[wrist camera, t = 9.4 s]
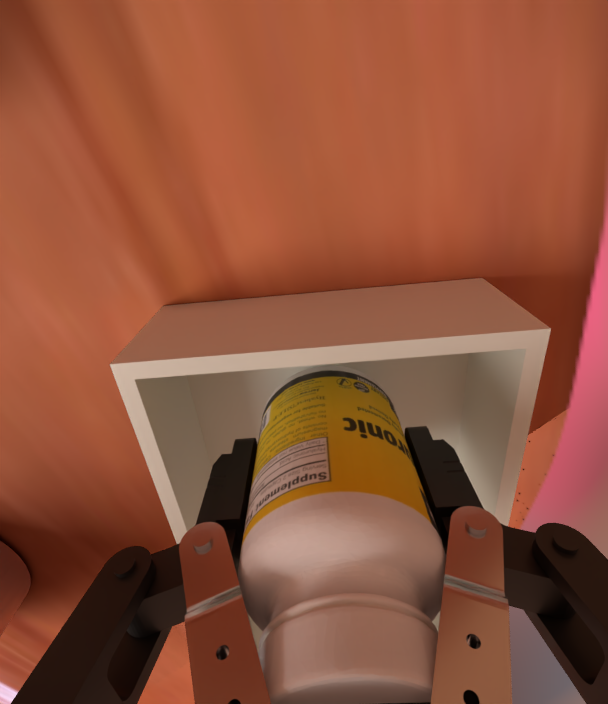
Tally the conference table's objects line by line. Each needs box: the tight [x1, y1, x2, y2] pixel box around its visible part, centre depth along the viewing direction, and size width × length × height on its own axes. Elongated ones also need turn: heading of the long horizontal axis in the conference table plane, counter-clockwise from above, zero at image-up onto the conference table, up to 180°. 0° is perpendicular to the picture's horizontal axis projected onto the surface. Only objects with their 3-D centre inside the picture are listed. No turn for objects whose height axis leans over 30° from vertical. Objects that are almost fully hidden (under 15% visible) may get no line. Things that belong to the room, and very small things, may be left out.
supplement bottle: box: [238, 365, 446, 704], centre depth 12 cm, size 5×5×10 cm
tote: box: [110, 278, 551, 653], centre depth 18 cm, size 17×13×5 cm
